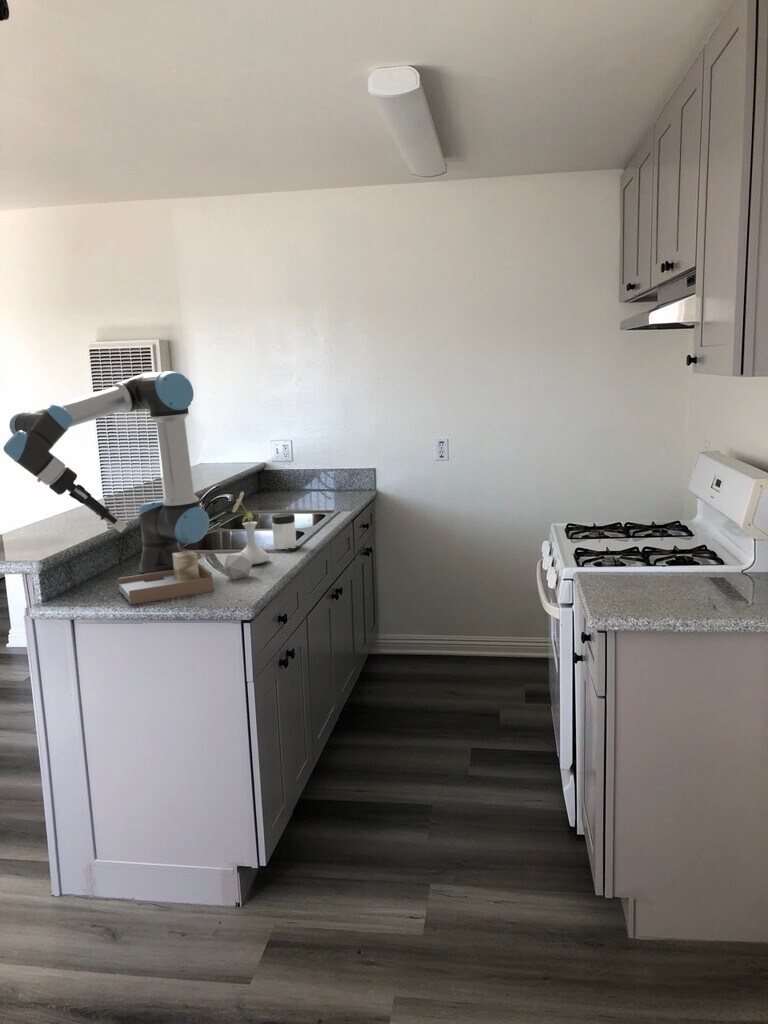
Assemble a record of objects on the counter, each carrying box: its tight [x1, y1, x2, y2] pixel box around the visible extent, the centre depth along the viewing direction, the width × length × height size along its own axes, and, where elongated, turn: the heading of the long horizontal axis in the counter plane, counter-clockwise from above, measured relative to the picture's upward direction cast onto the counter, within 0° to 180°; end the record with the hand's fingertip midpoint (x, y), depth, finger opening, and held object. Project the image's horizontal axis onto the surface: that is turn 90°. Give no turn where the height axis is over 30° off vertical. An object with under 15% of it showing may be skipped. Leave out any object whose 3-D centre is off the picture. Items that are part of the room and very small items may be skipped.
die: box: [222, 551, 253, 581], centre depth 257 cm, size 8×9×10 cm
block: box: [172, 550, 199, 582], centre depth 248 cm, size 6×6×8 cm
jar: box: [271, 512, 297, 550], centre depth 299 cm, size 9×8×12 cm
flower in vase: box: [231, 491, 270, 566], centre depth 274 cm, size 13×11×25 cm
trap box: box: [118, 562, 214, 605], centre depth 245 cm, size 24×18×6 cm
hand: (123, 528), depth 238 cm, fingers closed
